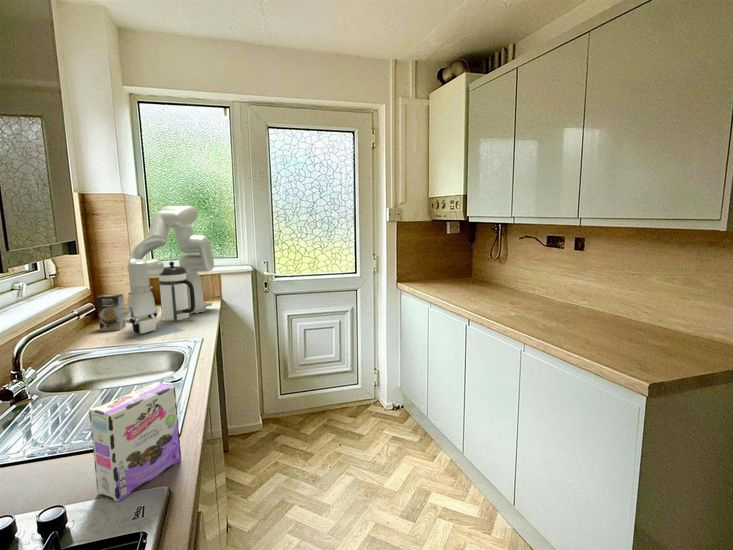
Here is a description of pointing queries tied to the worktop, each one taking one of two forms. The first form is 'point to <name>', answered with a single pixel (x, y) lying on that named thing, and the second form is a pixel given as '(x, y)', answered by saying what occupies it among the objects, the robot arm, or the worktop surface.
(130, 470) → the candy box
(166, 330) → the base plate
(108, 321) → the coffee box
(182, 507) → the worktop surface
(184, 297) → the coffee press
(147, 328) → the white striped cube
